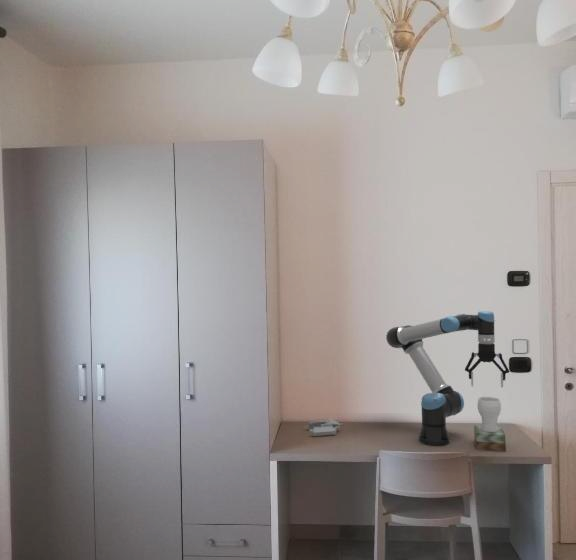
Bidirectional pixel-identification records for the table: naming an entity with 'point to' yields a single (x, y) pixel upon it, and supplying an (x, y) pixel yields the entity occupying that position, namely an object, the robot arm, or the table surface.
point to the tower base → (490, 446)
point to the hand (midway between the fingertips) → (487, 386)
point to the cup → (489, 413)
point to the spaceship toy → (324, 427)
